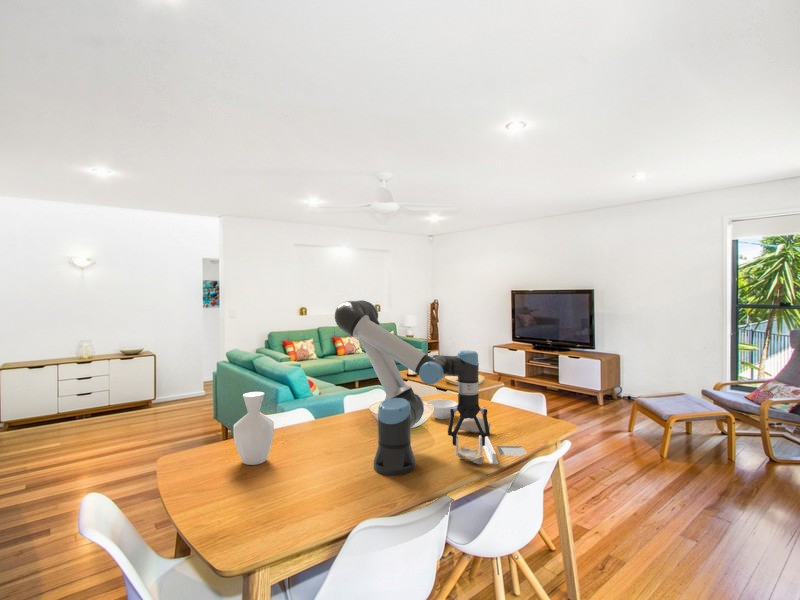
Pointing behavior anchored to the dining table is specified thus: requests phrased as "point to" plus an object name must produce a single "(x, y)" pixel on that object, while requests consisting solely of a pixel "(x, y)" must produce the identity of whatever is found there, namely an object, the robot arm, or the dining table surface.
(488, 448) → the divider wall
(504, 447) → the rest mat
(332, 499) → the dining table surface
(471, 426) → the decorative bird
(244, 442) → the vase
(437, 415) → the bowl
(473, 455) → the coral
